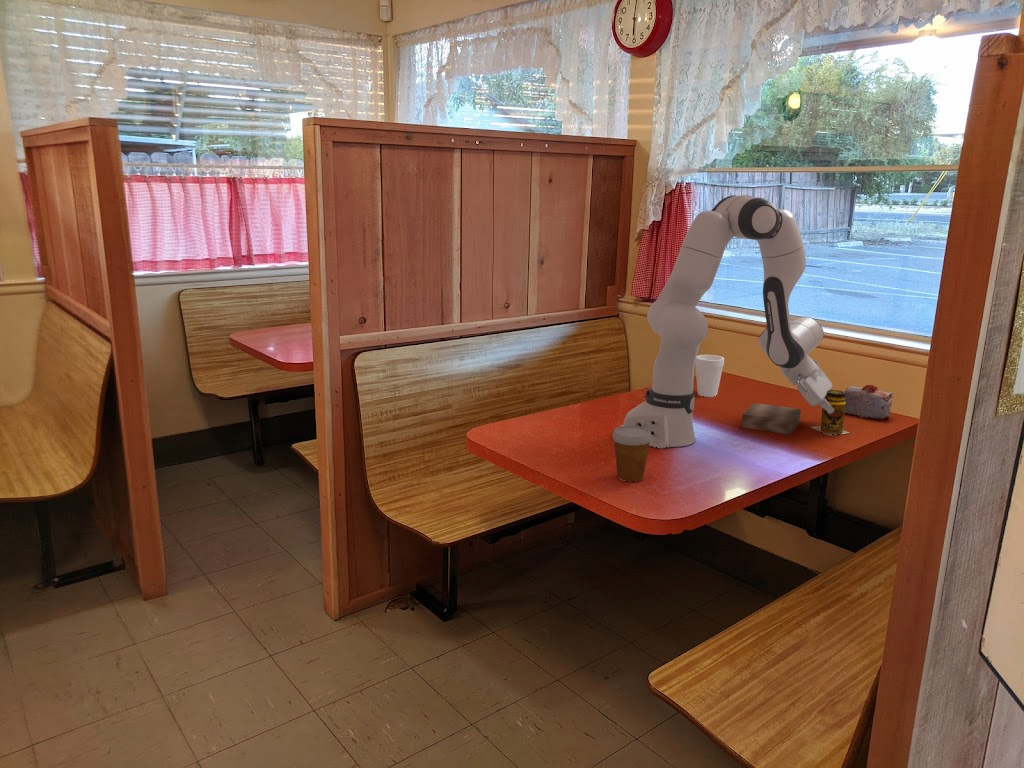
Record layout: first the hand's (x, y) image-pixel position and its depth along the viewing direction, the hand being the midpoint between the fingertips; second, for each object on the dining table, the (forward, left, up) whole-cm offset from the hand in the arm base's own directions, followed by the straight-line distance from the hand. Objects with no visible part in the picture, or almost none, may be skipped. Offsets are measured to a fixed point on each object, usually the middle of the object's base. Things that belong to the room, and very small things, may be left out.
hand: (834, 408), depth 216 cm
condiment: (-1, +1, -7) cm, 7 cm away
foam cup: (-43, +22, -7) cm, 49 cm away
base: (-17, -2, -7) cm, 18 cm away
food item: (+7, +23, -7) cm, 25 cm away
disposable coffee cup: (-38, -63, -7) cm, 74 cm away
